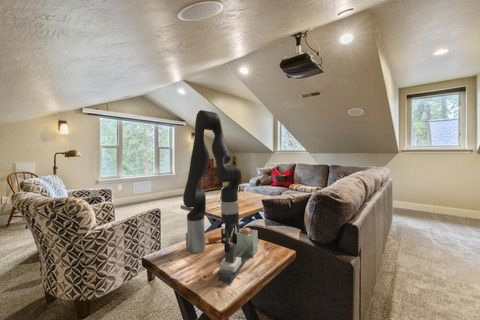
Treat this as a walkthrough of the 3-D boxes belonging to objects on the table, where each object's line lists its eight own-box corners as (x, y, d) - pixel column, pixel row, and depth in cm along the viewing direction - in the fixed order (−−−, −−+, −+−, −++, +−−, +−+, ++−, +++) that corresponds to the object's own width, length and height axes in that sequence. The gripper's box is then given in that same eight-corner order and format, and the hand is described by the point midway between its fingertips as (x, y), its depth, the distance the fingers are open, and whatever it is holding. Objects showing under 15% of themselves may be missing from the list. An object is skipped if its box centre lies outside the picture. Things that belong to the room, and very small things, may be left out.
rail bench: (235, 284, 87) (235, 258, 87) (213, 279, 91) (213, 254, 90) (257, 250, 117) (257, 230, 116) (240, 247, 120) (240, 228, 120)
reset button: (240, 237, 113) (240, 230, 113) (243, 234, 117) (243, 227, 117) (248, 238, 112) (248, 231, 112) (251, 235, 116) (251, 228, 116)
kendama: (207, 234, 130) (238, 227, 136) (208, 245, 129) (239, 237, 136) (209, 236, 124) (241, 229, 131) (210, 247, 123) (243, 239, 130)
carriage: (234, 275, 90) (234, 250, 90) (219, 272, 93) (219, 247, 92) (241, 265, 98) (241, 242, 97) (227, 263, 100) (226, 240, 100)
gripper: (228, 206, 102) (229, 240, 103) (214, 215, 89) (216, 253, 89) (243, 207, 100) (244, 242, 100) (231, 216, 86) (232, 256, 87)
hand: (231, 247), depth 95 cm, fingers open, 8 cm apart
